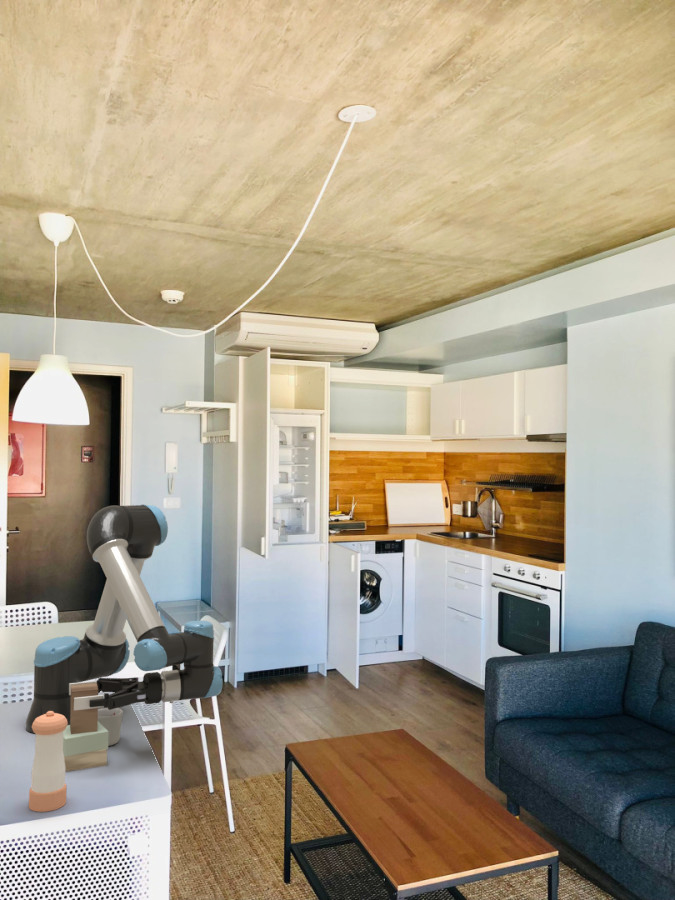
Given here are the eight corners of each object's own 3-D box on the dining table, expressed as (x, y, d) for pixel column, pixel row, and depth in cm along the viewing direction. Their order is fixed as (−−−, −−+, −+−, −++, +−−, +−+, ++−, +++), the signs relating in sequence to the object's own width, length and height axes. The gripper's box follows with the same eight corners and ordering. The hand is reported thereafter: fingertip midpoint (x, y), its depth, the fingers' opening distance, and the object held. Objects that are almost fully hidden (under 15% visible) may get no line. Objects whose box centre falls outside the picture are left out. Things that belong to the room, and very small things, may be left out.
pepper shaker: (35, 797, 158) (38, 706, 159) (70, 796, 158) (72, 706, 159) (23, 812, 150) (26, 717, 151) (60, 811, 151) (62, 716, 152)
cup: (74, 745, 190) (75, 713, 190) (94, 735, 197) (95, 704, 197) (109, 750, 186) (109, 718, 186) (128, 740, 193) (129, 709, 194)
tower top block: (55, 744, 180) (55, 727, 180) (96, 736, 185) (97, 720, 186) (64, 756, 171) (65, 739, 172) (108, 748, 177) (108, 731, 177)
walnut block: (70, 726, 181) (70, 685, 181) (95, 723, 183) (96, 682, 183) (70, 734, 175) (71, 691, 175) (97, 731, 177) (98, 689, 178)
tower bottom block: (59, 758, 181) (59, 742, 181) (101, 753, 185) (101, 736, 185) (62, 773, 172) (62, 755, 172) (106, 766, 176) (107, 749, 176)
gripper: (170, 716, 175) (75, 727, 166) (151, 689, 198) (67, 698, 189) (171, 684, 175) (76, 694, 166) (151, 661, 198) (67, 668, 189)
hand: (71, 696), depth 178 cm, fingers open, 13 cm apart
